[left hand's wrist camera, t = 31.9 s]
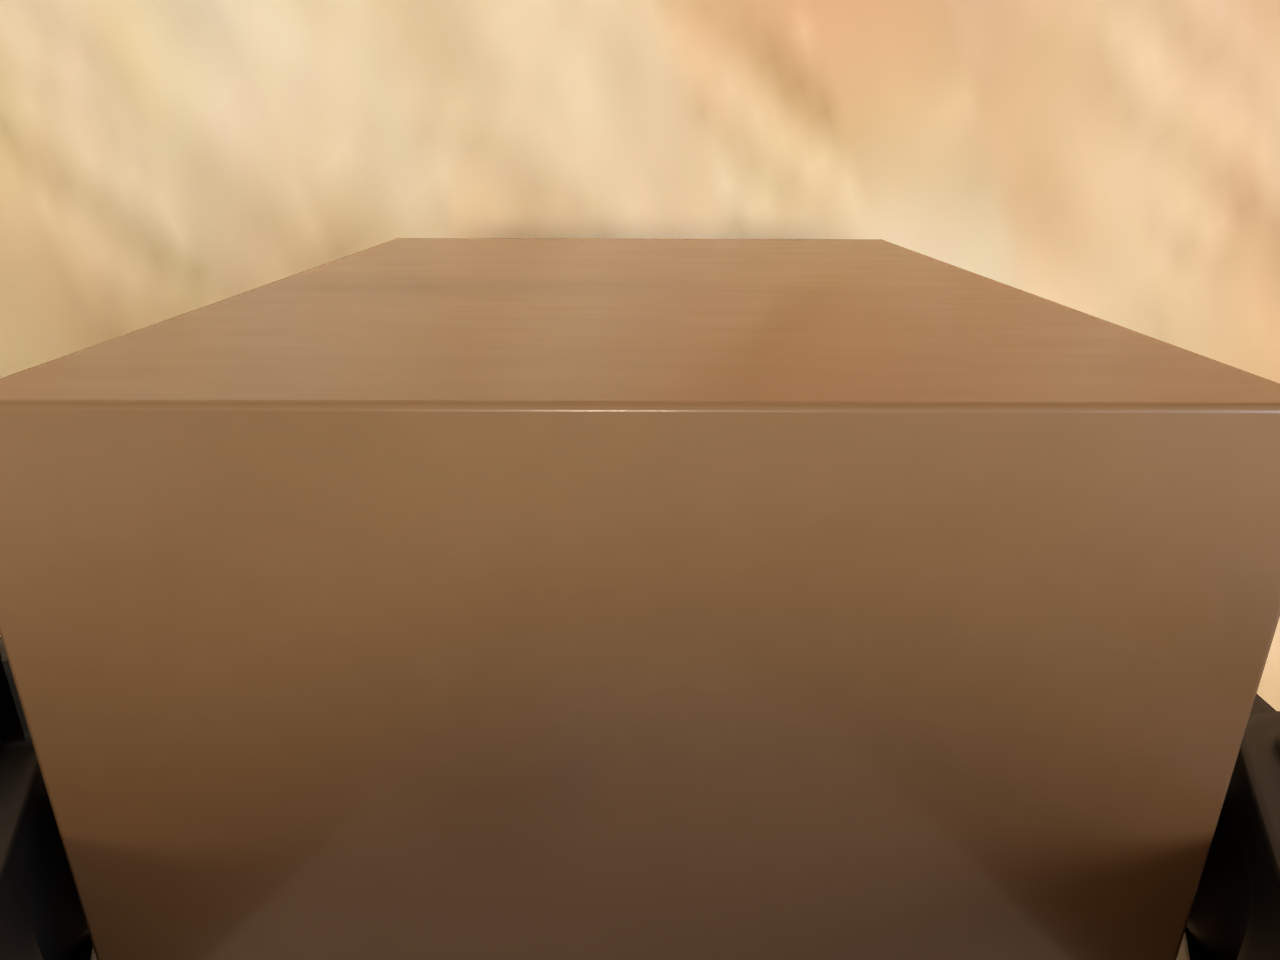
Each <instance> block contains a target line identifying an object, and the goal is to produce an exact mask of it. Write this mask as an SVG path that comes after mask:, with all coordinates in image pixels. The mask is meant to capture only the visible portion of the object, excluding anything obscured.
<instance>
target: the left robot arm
mask: <svg viewBox="0 0 1280 960" xmlns="http://www.w3.org/2000/svg"><path fill="white" fill-rule="evenodd" d="M0 960H97V957H96V954H95V951H94V947H93V944H92V941H91V937H90V934H89V931H88V927H87V924H86V921H85V917H84V914H83V911H82V907H81V904H80V900H79V897H78V894H77V890H76V887H75V884H74V880H73V877H72V874H71V870H70V867H69V864H68V860H67V857H66V853H65V850H64V847H63V843H62V840H61V837H60V833H59V830H58V827H57V823H56V820H55V817H54V813H53V810H52V807H51V803H50V800H49V796H48V793H47V790H46V786H45V783H44V780H43V776H42V773H41V770H40V766H39V763H38V760H37V756H36V753H35V749H34V746H33V743H32V739H31V736H30V733H29V729H28V726H27V723H26V719H25V716H24V713H23V709H22V706H21V702H20V699H19V696H18V692H17V689H16V686H15V682H14V679H13V676H12V672H11V669H10V666H9V662H8V659H7V656H6V652H5V649H4V645H3V642H2V639H1V637H0ZM1176 960H1280V712H1279V711H1276V710H1275V709H1273V708H1272V707H1271V706H1270V705H1269V704H1268V703H1267V702H1265V701H1264V700H1263V699H1262V698H1261V697H1260V696H1259V695H1257V694H1256V696H1255V700H1254V703H1253V706H1252V710H1251V713H1250V716H1249V720H1248V723H1247V726H1246V730H1245V733H1244V736H1243V740H1242V743H1241V746H1240V750H1239V753H1238V756H1237V760H1236V763H1235V766H1234V770H1233V773H1232V776H1231V780H1230V783H1229V786H1228V790H1227V793H1226V796H1225V800H1224V803H1223V806H1222V810H1221V813H1220V816H1219V820H1218V823H1217V826H1216V830H1215V833H1214V836H1213V839H1212V843H1211V846H1210V849H1209V853H1208V856H1207V859H1206V863H1205V866H1204V869H1203V873H1202V876H1201V879H1200V883H1199V886H1198V889H1197V893H1196V896H1195V899H1194V903H1193V906H1192V909H1191V913H1190V916H1189V919H1188V923H1187V926H1186V929H1185V933H1184V936H1183V939H1182V943H1181V946H1180V949H1179V953H1178V956H1177V959H1176Z"/></svg>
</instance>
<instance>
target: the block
mask: <svg viewBox="0 0 1280 960" xmlns="http://www.w3.org/2000/svg"><path fill="white" fill-rule="evenodd" d="M1279 617H1280V384H1279V383H1276V382H1273V381H1271V380H1268V379H1265V378H1262V377H1259V376H1257V375H1254V374H1251V373H1248V372H1246V371H1243V370H1240V369H1237V368H1235V367H1232V366H1229V365H1226V364H1224V363H1221V362H1218V361H1215V360H1213V359H1210V358H1207V357H1204V356H1201V355H1199V354H1196V353H1193V352H1190V351H1188V350H1185V349H1182V348H1179V347H1177V346H1174V345H1171V344H1168V343H1166V342H1163V341H1160V340H1157V339H1155V338H1152V337H1149V336H1146V335H1143V334H1141V333H1138V332H1135V331H1132V330H1130V329H1127V328H1124V327H1121V326H1119V325H1116V324H1113V323H1110V322H1108V321H1105V320H1102V319H1099V318H1097V317H1094V316H1091V315H1088V314H1085V313H1083V312H1080V311H1077V310H1074V309H1072V308H1069V307H1066V306H1063V305H1061V304H1058V303H1055V302H1052V301H1050V300H1047V299H1044V298H1041V297H1039V296H1036V295H1033V294H1030V293H1027V292H1025V291H1022V290H1019V289H1016V288H1014V287H1011V286H1008V285H1005V284H1003V283H1000V282H997V281H994V280H992V279H989V278H986V277H983V276H981V275H978V274H975V273H972V272H969V271H967V270H964V269H961V268H958V267H956V266H953V265H950V264H947V263H945V262H942V261H939V260H936V259H934V258H931V257H928V256H925V255H922V254H920V253H917V252H914V251H911V250H909V249H906V248H903V247H900V246H898V245H895V244H892V243H889V242H887V241H884V240H845V239H435V238H397V239H394V240H392V241H389V242H386V243H383V244H380V245H377V246H375V247H372V248H369V249H366V250H363V251H360V252H358V253H355V254H352V255H349V256H346V257H343V258H341V259H338V260H335V261H332V262H329V263H326V264H324V265H321V266H318V267H315V268H312V269H310V270H307V271H304V272H301V273H298V274H295V275H293V276H290V277H287V278H284V279H281V280H278V281H276V282H273V283H270V284H267V285H264V286H261V287H259V288H256V289H253V290H250V291H247V292H244V293H242V294H239V295H236V296H233V297H230V298H227V299H225V300H222V301H219V302H216V303H213V304H210V305H208V306H205V307H202V308H199V309H196V310H194V311H191V312H188V313H185V314H182V315H179V316H177V317H174V318H171V319H168V320H165V321H162V322H160V323H157V324H154V325H151V326H148V327H145V328H143V329H140V330H137V331H134V332H131V333H128V334H126V335H123V336H120V337H117V338H114V339H111V340H109V341H106V342H103V343H100V344H97V345H95V346H92V347H89V348H86V349H83V350H80V351H78V352H75V353H72V354H69V355H66V356H63V357H61V358H58V359H55V360H52V361H49V362H46V363H44V364H41V365H38V366H35V367H32V368H29V369H27V370H24V371H21V372H18V373H15V374H12V375H10V376H7V377H4V378H1V379H0V635H1V639H2V642H3V645H4V649H5V652H6V656H7V659H8V662H9V666H10V669H11V672H12V676H13V679H14V682H15V686H16V689H17V692H18V696H19V699H20V702H21V706H22V709H23V713H24V716H25V719H26V723H27V726H28V729H29V733H30V736H31V739H32V743H33V746H34V749H35V753H36V756H37V760H38V763H39V766H40V770H41V773H42V776H43V780H44V783H45V786H46V790H47V793H48V796H49V800H50V803H51V807H52V810H53V813H54V817H55V820H56V823H57V827H58V830H59V833H60V837H61V840H62V843H63V847H64V850H65V853H66V857H67V860H68V864H69V867H70V870H71V874H72V877H73V880H74V884H75V887H76V890H77V894H78V897H79V900H80V904H81V907H82V911H83V914H84V917H85V921H86V924H87V927H88V931H89V934H90V937H91V941H92V944H93V947H94V951H95V954H96V957H97V960H1176V959H1177V956H1178V953H1179V949H1180V946H1181V943H1182V939H1183V936H1184V933H1185V929H1186V926H1187V923H1188V919H1189V916H1190V913H1191V909H1192V906H1193V903H1194V899H1195V896H1196V893H1197V889H1198V886H1199V883H1200V879H1201V876H1202V873H1203V869H1204V866H1205V863H1206V859H1207V856H1208V853H1209V849H1210V846H1211V843H1212V839H1213V836H1214V833H1215V830H1216V826H1217V823H1218V820H1219V816H1220V813H1221V810H1222V806H1223V803H1224V800H1225V796H1226V793H1227V790H1228V786H1229V783H1230V780H1231V776H1232V773H1233V770H1234V766H1235V763H1236V760H1237V756H1238V753H1239V750H1240V746H1241V743H1242V740H1243V736H1244V733H1245V730H1246V726H1247V723H1248V720H1249V716H1250V713H1251V710H1252V706H1253V703H1254V700H1255V696H1256V693H1257V690H1258V686H1259V683H1260V680H1261V677H1262V673H1263V670H1264V667H1265V663H1266V660H1267V657H1268V653H1269V650H1270V647H1271V643H1272V640H1273V637H1274V633H1275V630H1276V627H1277V623H1278V620H1279Z"/></svg>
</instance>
